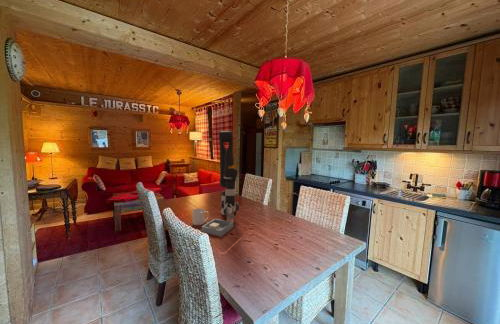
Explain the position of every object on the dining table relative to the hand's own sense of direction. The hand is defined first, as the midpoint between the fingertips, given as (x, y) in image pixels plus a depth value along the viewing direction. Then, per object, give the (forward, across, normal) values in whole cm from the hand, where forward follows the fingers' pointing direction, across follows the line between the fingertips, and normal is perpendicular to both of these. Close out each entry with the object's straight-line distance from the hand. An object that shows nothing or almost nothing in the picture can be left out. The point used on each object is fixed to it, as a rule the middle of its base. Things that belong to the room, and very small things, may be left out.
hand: (229, 214), depth 158 cm
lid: (+3, +3, +17) cm, 17 cm away
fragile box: (+8, +3, +17) cm, 19 cm away
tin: (+8, 0, -1) cm, 9 cm away
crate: (+9, +3, +12) cm, 15 cm away
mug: (+9, +22, +8) cm, 25 cm away
